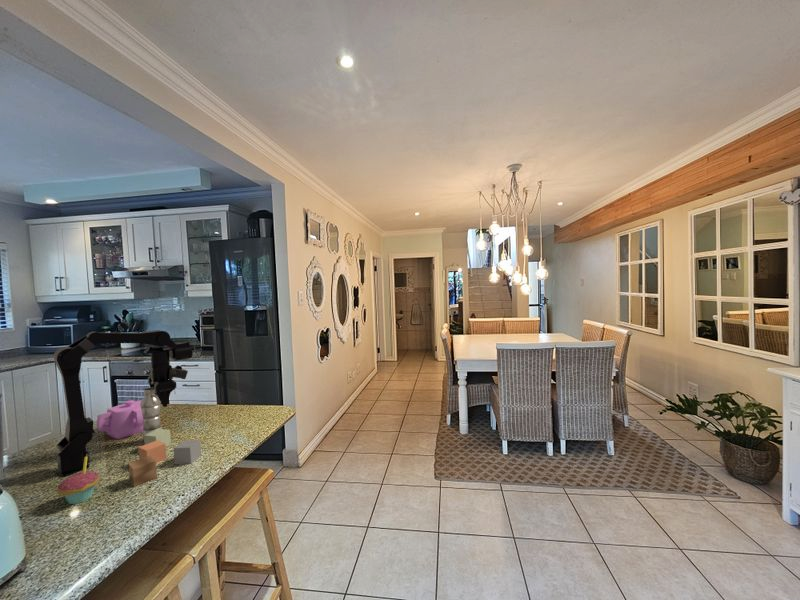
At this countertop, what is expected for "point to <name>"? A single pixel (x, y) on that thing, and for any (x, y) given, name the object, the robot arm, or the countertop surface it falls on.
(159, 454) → the terracotta block
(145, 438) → the sage block
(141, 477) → the walnut block
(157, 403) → the plastic bottle
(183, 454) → the slate block
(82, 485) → the cupcake
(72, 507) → the countertop surface
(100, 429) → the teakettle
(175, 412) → the countertop surface
